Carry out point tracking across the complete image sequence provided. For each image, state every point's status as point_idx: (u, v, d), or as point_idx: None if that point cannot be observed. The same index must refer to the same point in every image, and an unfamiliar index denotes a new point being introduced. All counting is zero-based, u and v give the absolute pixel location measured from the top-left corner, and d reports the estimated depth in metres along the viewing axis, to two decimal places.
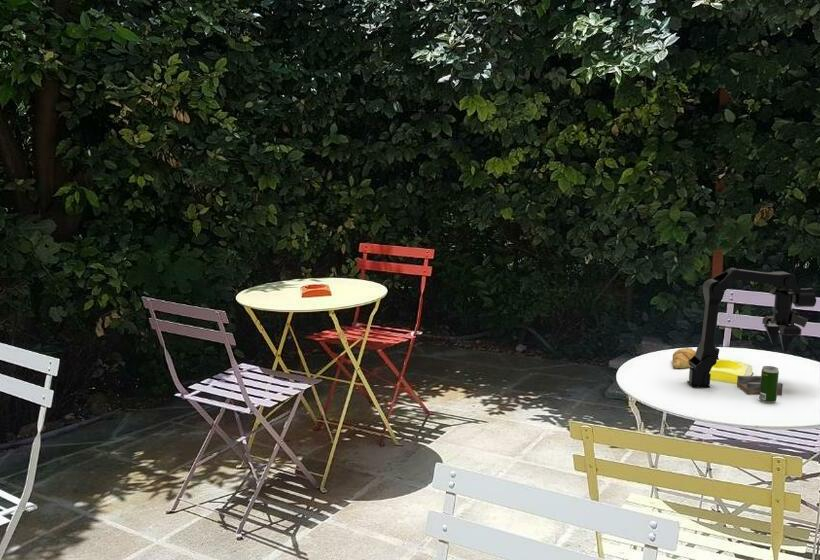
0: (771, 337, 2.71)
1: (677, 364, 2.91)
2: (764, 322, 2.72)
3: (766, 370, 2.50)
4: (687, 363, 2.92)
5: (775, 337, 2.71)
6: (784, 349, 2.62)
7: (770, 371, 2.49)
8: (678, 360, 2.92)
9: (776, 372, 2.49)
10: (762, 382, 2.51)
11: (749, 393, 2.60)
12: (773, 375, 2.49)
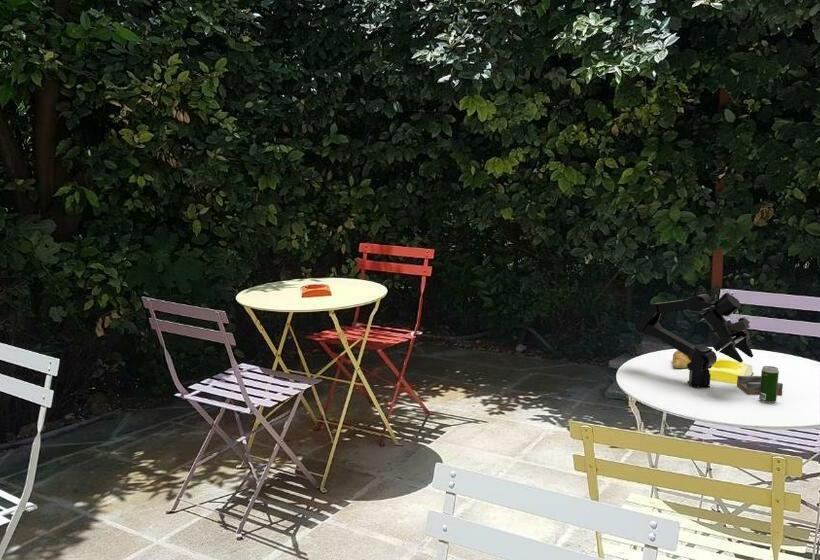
0: (744, 352, 2.61)
1: (677, 364, 2.91)
2: None
3: (766, 370, 2.50)
4: (687, 363, 2.92)
5: (747, 349, 2.60)
6: (738, 360, 2.54)
7: (770, 371, 2.49)
8: (678, 360, 2.92)
9: (776, 372, 2.49)
10: (762, 382, 2.51)
11: (749, 393, 2.60)
12: (773, 375, 2.49)
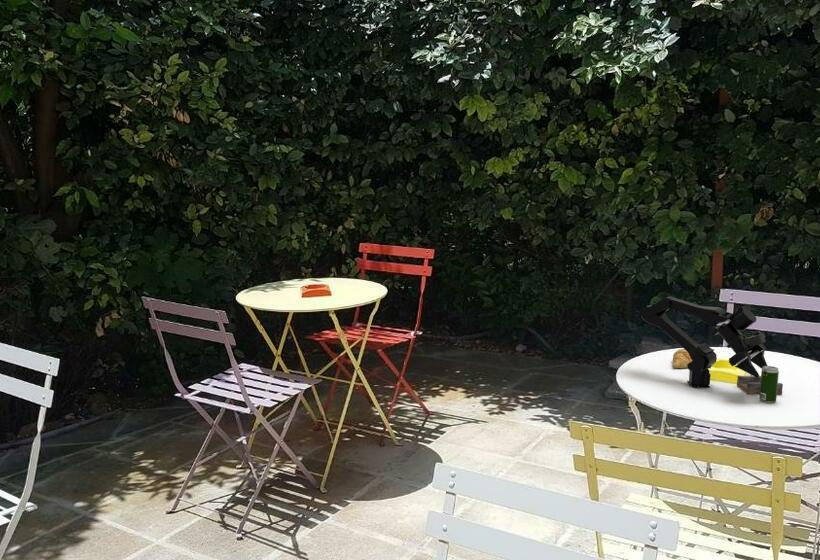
0: (760, 366, 2.58)
1: (677, 364, 2.91)
2: None
3: (766, 370, 2.50)
4: (687, 363, 2.92)
5: (763, 364, 2.57)
6: (755, 375, 2.50)
7: (770, 371, 2.49)
8: (678, 360, 2.92)
9: (776, 372, 2.49)
10: (762, 382, 2.51)
11: (749, 393, 2.60)
12: (773, 375, 2.49)
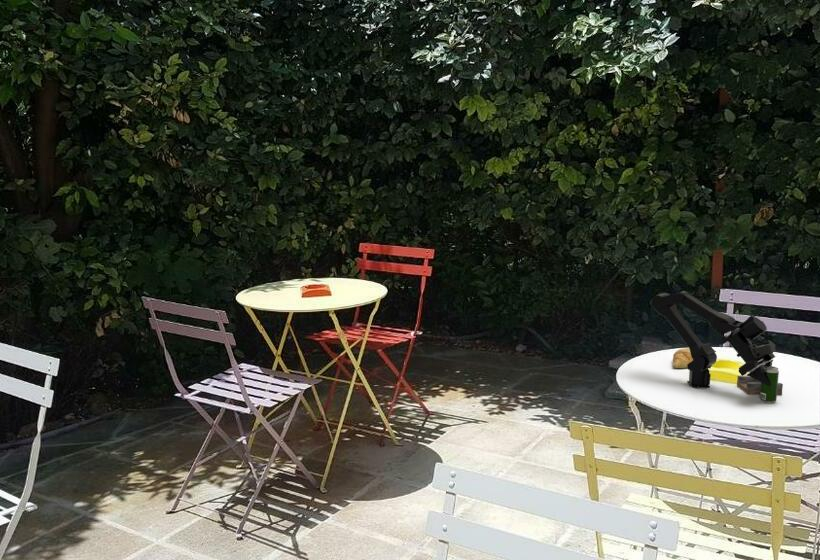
0: None
1: (677, 364, 2.91)
2: None
3: (766, 370, 2.50)
4: (687, 363, 2.92)
5: None
6: (767, 384, 2.49)
7: (770, 371, 2.49)
8: (678, 360, 2.92)
9: (776, 372, 2.49)
10: None
11: (749, 393, 2.60)
12: (773, 375, 2.49)
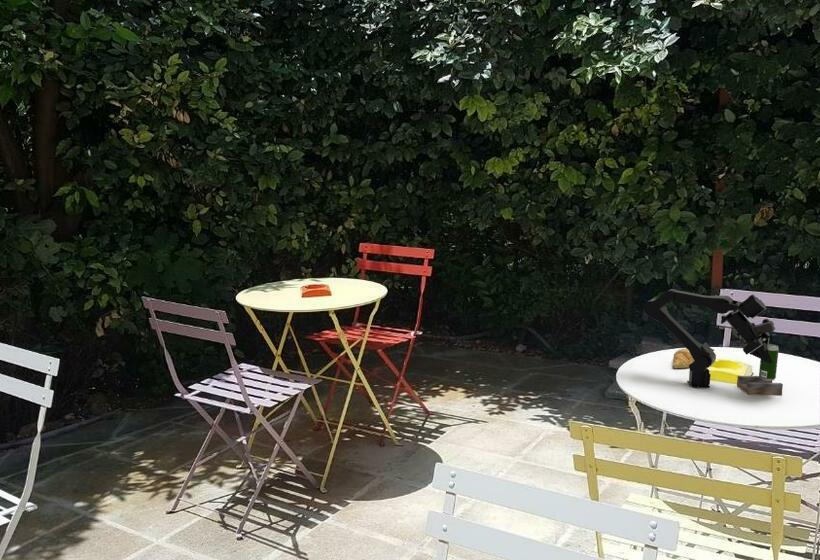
0: None
1: (676, 364, 2.91)
2: None
3: (767, 348, 2.53)
4: (687, 363, 2.92)
5: None
6: (768, 362, 2.52)
7: (772, 349, 2.52)
8: (678, 360, 2.92)
9: (777, 350, 2.53)
10: (763, 360, 2.54)
11: (749, 393, 2.60)
12: (774, 353, 2.52)
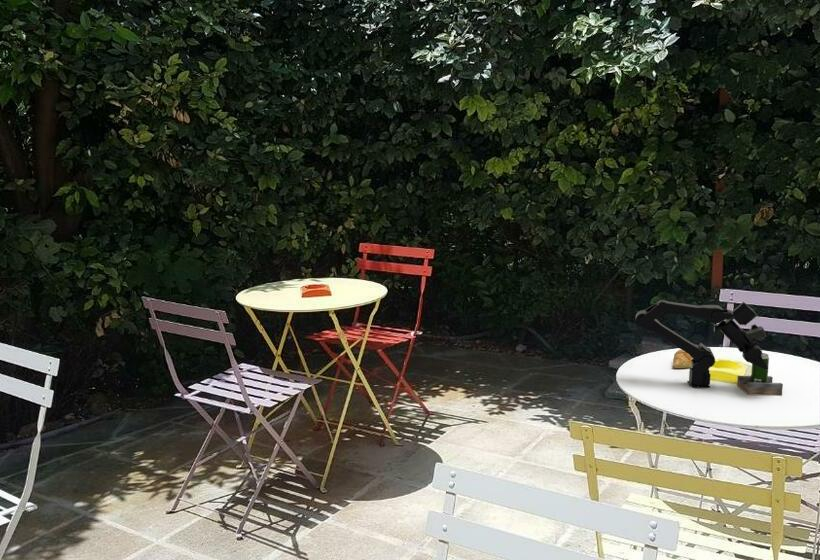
0: None
1: (676, 364, 2.91)
2: None
3: None
4: (687, 363, 2.91)
5: None
6: (764, 368, 2.58)
7: (764, 357, 2.60)
8: (678, 360, 2.92)
9: (768, 357, 2.61)
10: (756, 369, 2.62)
11: (749, 393, 2.60)
12: (767, 361, 2.61)
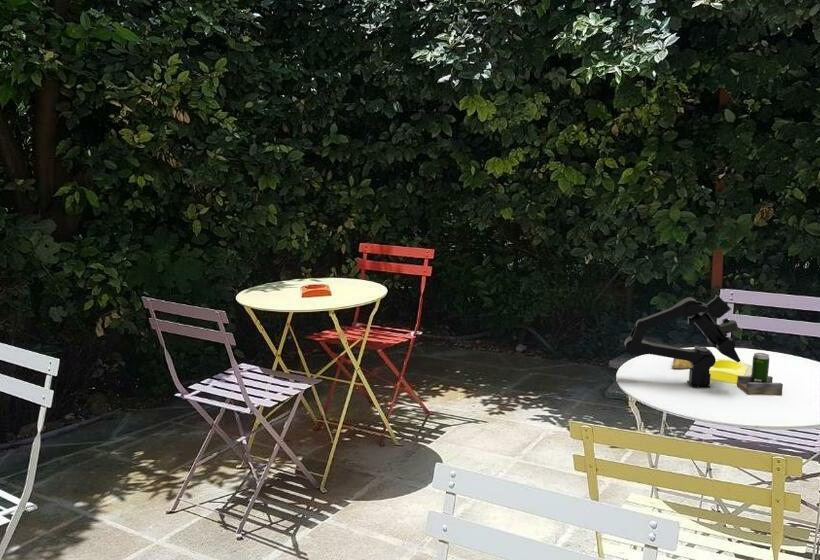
0: None
1: (676, 364, 2.91)
2: (709, 343, 2.74)
3: (761, 357, 2.60)
4: (687, 363, 2.91)
5: None
6: (737, 360, 2.61)
7: (765, 358, 2.60)
8: (677, 360, 2.92)
9: (769, 358, 2.61)
10: (757, 369, 2.62)
11: (749, 393, 2.60)
12: (767, 361, 2.60)
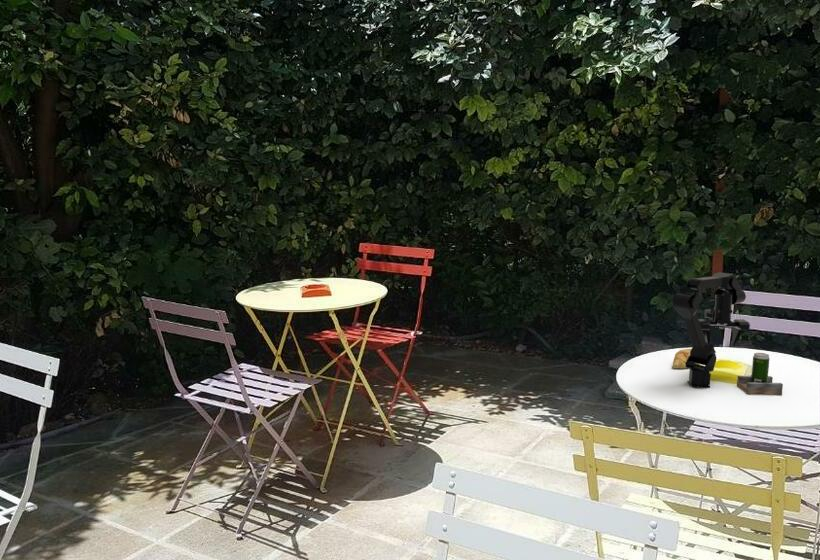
0: None
1: (676, 364, 2.90)
2: (705, 327, 2.72)
3: (761, 357, 2.60)
4: None
5: None
6: None
7: (765, 358, 2.60)
8: (677, 360, 2.92)
9: (769, 358, 2.61)
10: (757, 369, 2.62)
11: (749, 393, 2.60)
12: (767, 361, 2.60)
